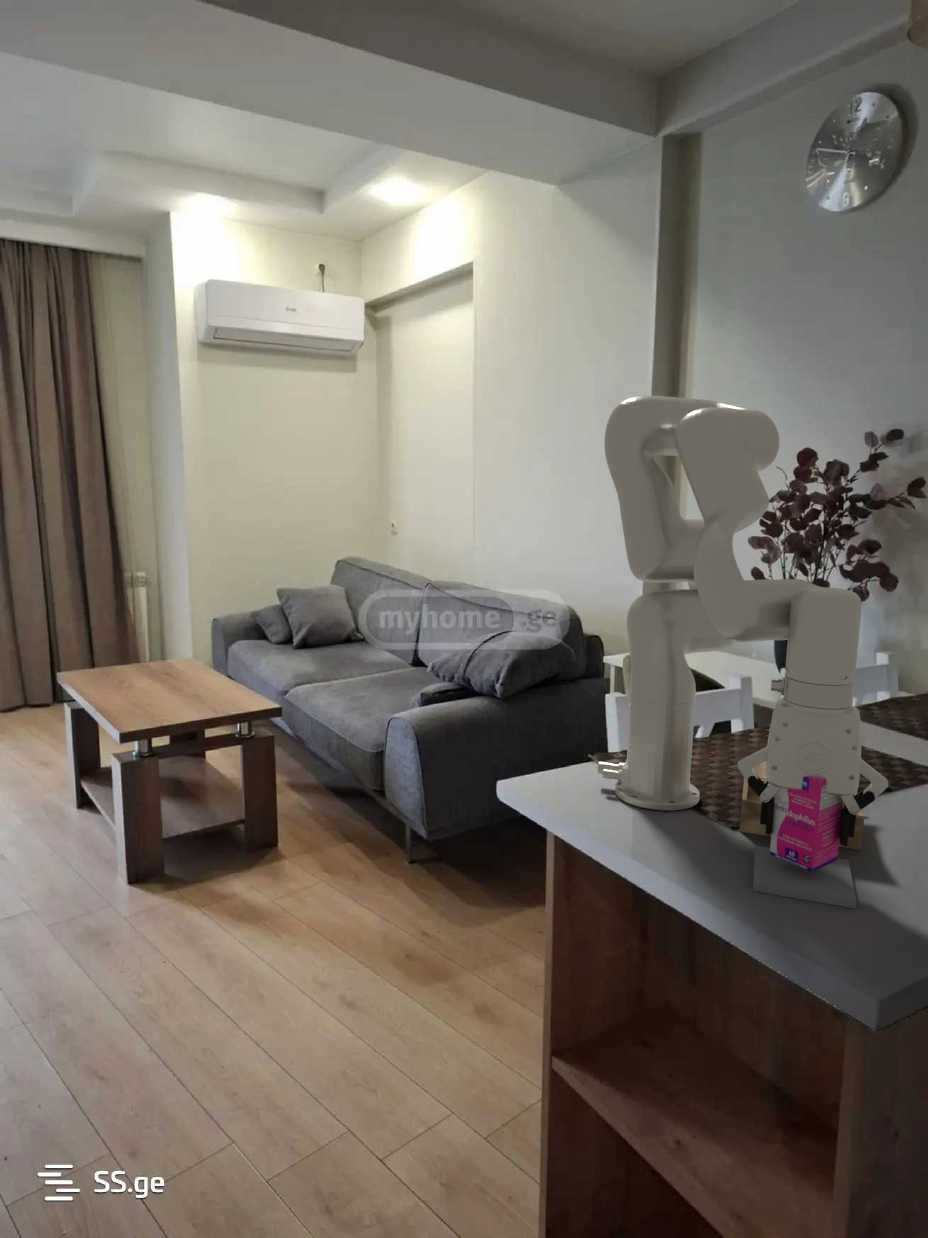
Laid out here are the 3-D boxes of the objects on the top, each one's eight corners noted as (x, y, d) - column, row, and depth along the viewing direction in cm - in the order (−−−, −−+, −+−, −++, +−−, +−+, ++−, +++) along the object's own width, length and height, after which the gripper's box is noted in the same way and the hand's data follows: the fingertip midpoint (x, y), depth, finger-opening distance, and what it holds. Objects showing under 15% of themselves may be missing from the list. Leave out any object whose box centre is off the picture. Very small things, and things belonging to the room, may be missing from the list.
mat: (752, 890, 98) (753, 882, 97) (754, 853, 108) (755, 845, 108) (855, 908, 94) (856, 900, 94) (847, 867, 104) (848, 860, 104)
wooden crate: (738, 843, 111) (741, 799, 110) (743, 795, 128) (746, 757, 127) (864, 863, 105) (869, 817, 104) (851, 810, 123) (855, 770, 122)
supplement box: (767, 856, 101) (775, 765, 99) (794, 844, 105) (802, 756, 103) (811, 874, 97) (820, 779, 95) (838, 861, 100) (848, 770, 98)
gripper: (738, 693, 97) (728, 836, 100) (905, 709, 91) (889, 861, 94) (740, 679, 104) (730, 813, 106) (896, 694, 98) (881, 835, 101)
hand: (805, 835), depth 100 cm, fingers closed on supplement box, 7 cm apart
